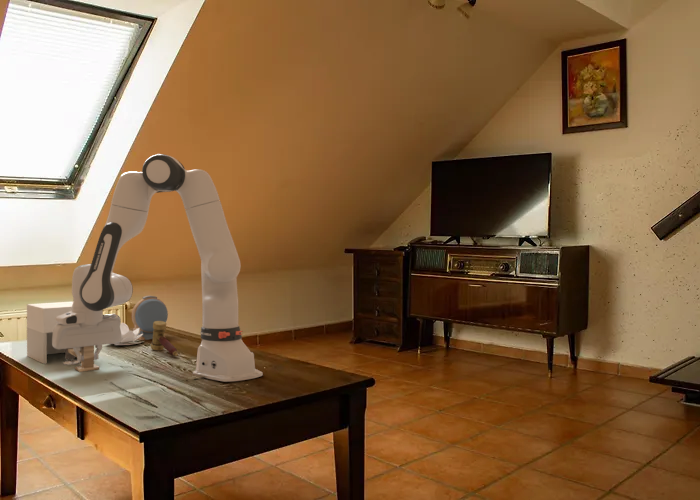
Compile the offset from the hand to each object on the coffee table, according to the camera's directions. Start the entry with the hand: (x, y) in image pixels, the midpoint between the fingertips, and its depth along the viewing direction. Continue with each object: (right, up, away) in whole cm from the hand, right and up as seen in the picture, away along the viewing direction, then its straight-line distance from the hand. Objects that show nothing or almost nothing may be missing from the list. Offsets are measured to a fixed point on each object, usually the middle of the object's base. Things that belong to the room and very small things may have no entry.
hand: (87, 360), depth 198 cm
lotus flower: (-5, -3, +46) cm, 46 cm away
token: (-10, -3, +10) cm, 14 cm away
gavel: (+15, -4, +30) cm, 34 cm away
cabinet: (-19, -3, +22) cm, 29 cm away
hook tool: (-5, -2, +6) cm, 8 cm away
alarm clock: (0, -2, +61) cm, 62 cm away
